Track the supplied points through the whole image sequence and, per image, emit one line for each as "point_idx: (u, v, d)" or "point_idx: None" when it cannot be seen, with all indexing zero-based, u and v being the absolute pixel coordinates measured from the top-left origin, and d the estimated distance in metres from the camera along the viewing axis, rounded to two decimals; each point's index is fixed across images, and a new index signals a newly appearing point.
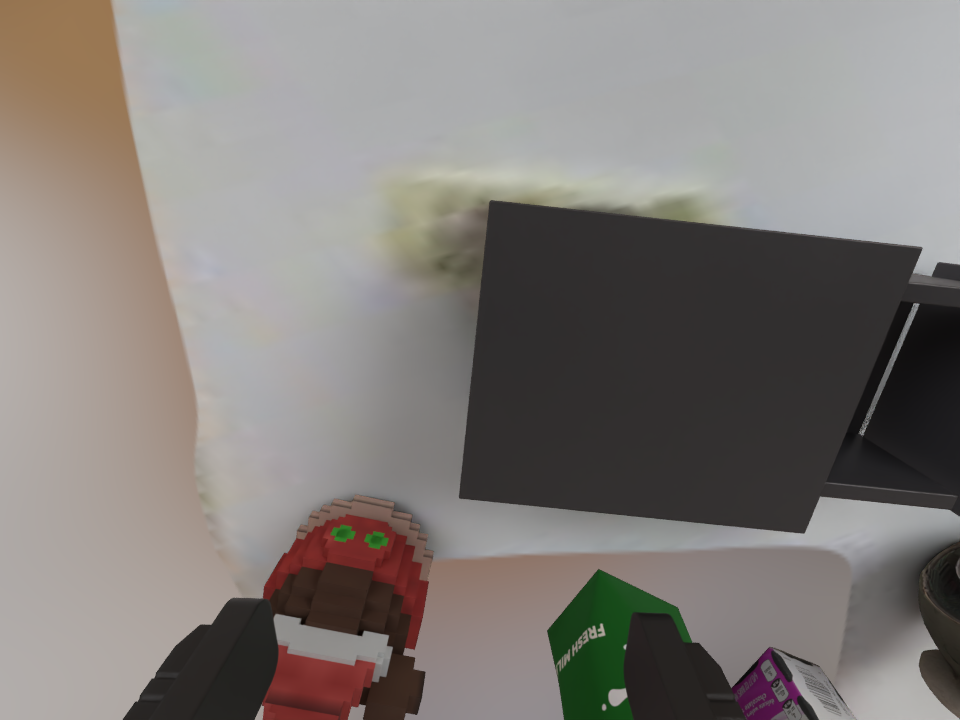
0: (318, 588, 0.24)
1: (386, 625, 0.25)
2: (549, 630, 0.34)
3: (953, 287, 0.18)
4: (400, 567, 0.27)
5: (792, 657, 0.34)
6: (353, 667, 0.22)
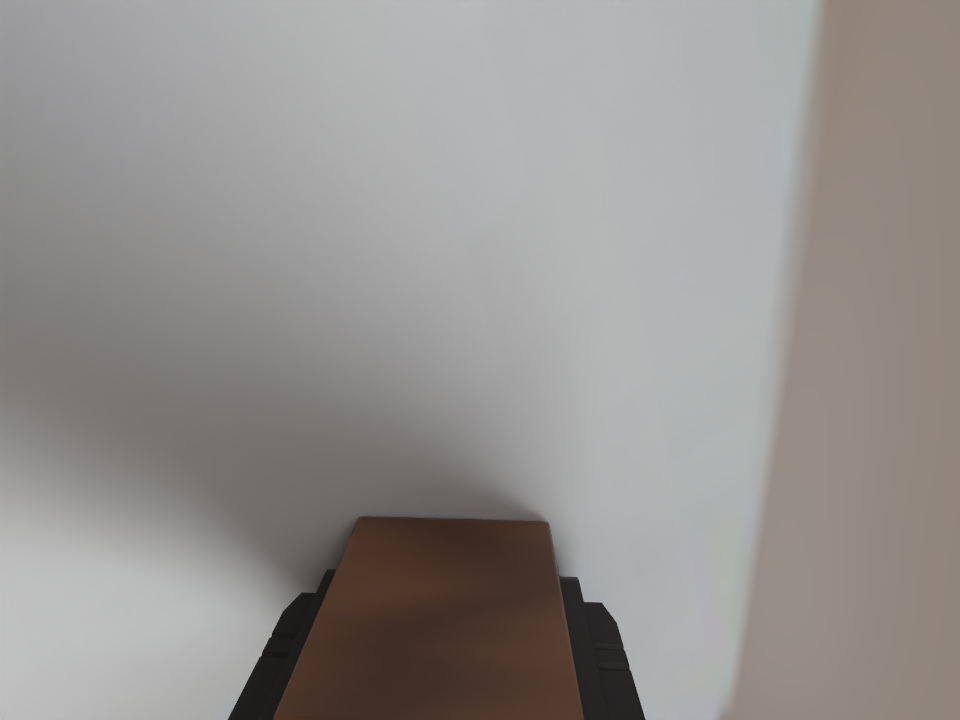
0: None
1: None
2: None
3: None
4: None
5: None
6: None
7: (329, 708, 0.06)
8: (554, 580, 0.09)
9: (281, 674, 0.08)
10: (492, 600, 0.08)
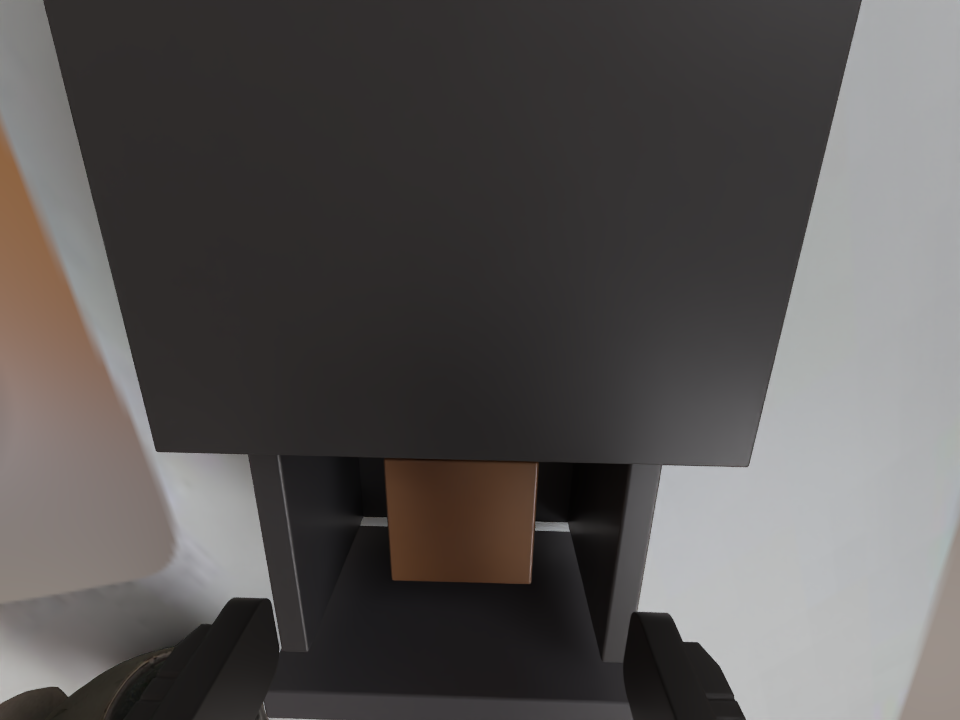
0: None
1: None
2: None
3: (649, 537, 0.11)
4: None
5: None
6: None
7: None
8: None
9: None
10: None
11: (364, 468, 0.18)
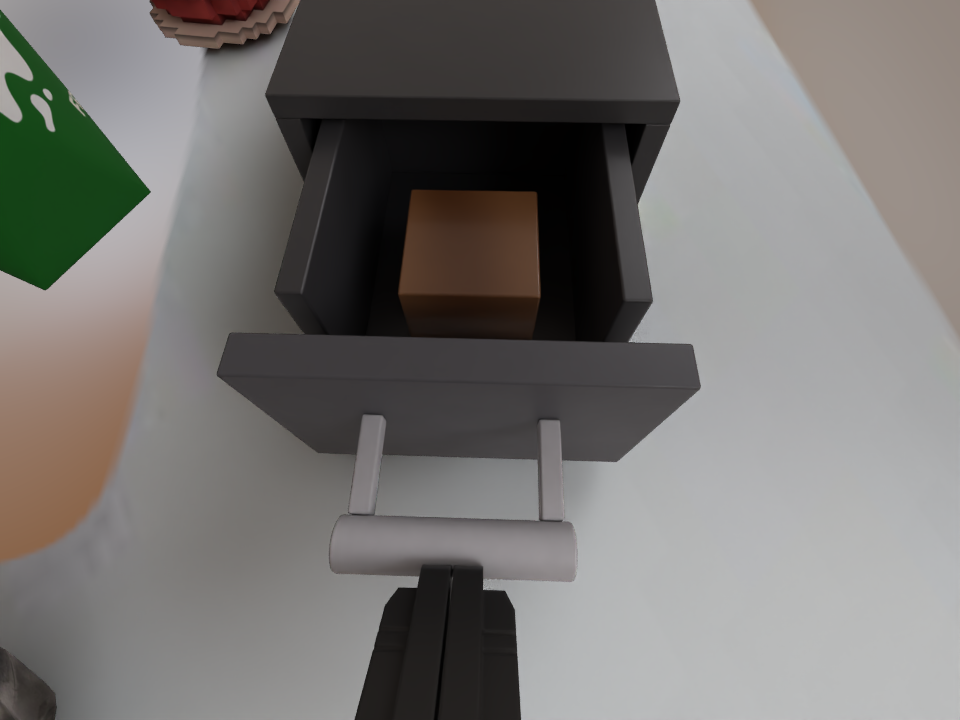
0: None
1: None
2: None
3: (632, 178, 0.14)
4: None
5: None
6: None
7: (433, 193, 0.16)
8: None
9: (403, 666, 0.08)
10: None
11: (371, 330, 0.18)
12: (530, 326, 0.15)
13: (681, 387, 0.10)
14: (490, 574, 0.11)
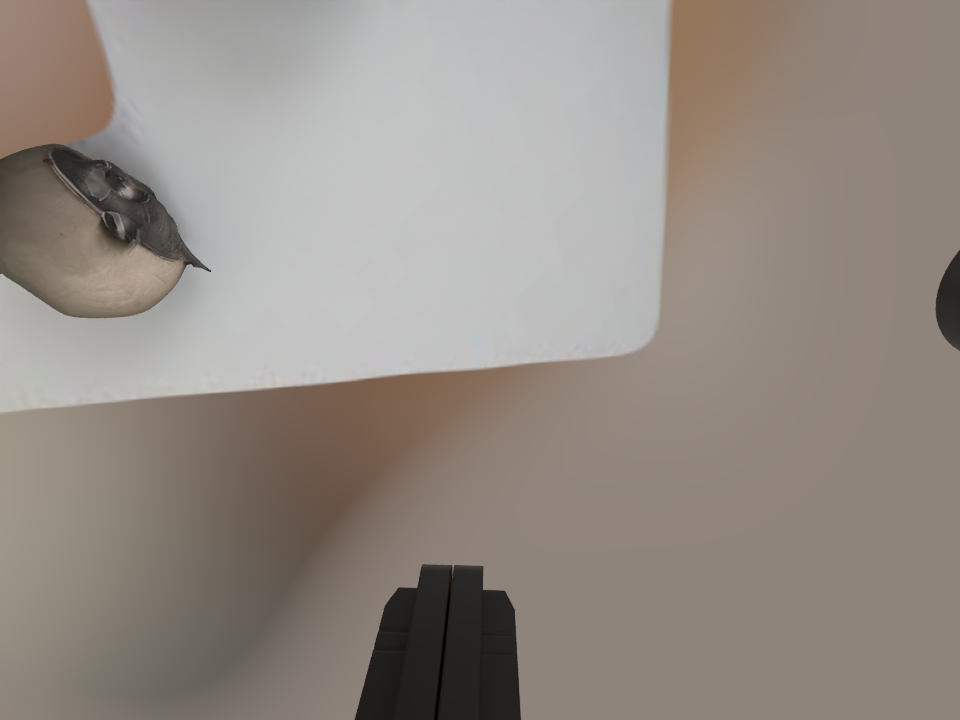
0: None
1: None
2: None
3: None
4: None
5: None
6: None
7: None
8: None
9: (403, 666, 0.08)
10: None
11: None
12: None
13: None
14: None
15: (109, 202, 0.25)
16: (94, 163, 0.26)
